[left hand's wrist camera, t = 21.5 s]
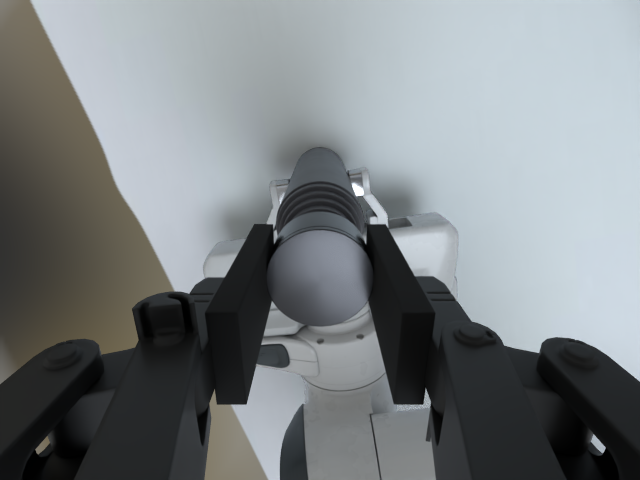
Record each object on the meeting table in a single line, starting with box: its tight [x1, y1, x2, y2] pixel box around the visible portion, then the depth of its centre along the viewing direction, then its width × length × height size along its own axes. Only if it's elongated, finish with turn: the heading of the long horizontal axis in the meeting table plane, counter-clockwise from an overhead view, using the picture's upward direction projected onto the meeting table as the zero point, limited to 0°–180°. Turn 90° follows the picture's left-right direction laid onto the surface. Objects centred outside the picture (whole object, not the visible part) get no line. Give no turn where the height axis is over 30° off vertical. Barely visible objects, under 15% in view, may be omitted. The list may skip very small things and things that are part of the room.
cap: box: [266, 212, 374, 327], centre depth 13 cm, size 4×4×2 cm
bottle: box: [276, 148, 364, 236], centre depth 23 cm, size 5×5×21 cm
